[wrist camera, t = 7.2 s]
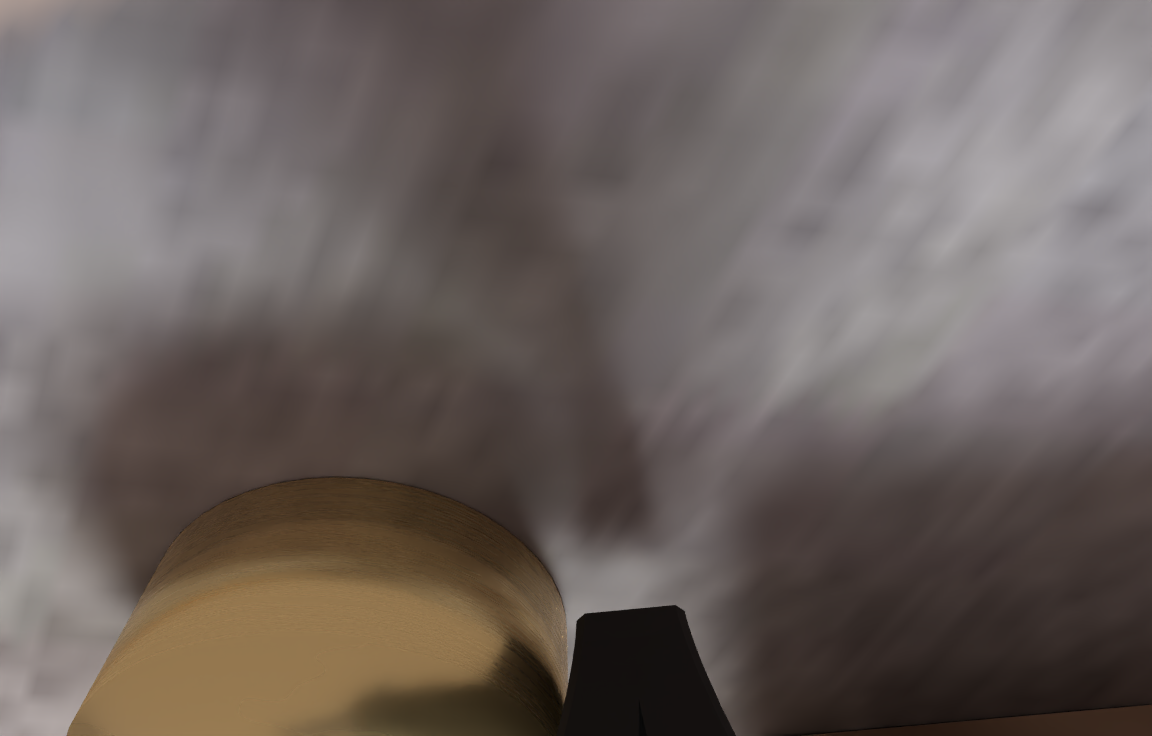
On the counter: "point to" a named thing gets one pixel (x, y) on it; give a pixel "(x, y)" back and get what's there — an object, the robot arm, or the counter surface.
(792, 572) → the counter surface
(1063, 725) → the walnut shelf
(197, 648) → the brass puck
